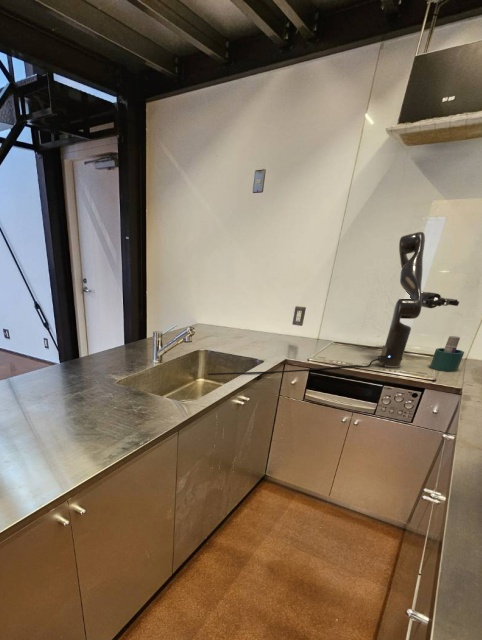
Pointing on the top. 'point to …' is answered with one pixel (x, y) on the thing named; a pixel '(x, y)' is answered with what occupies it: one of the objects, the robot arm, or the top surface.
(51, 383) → the top surface
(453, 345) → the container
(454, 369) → the teal pen cup
